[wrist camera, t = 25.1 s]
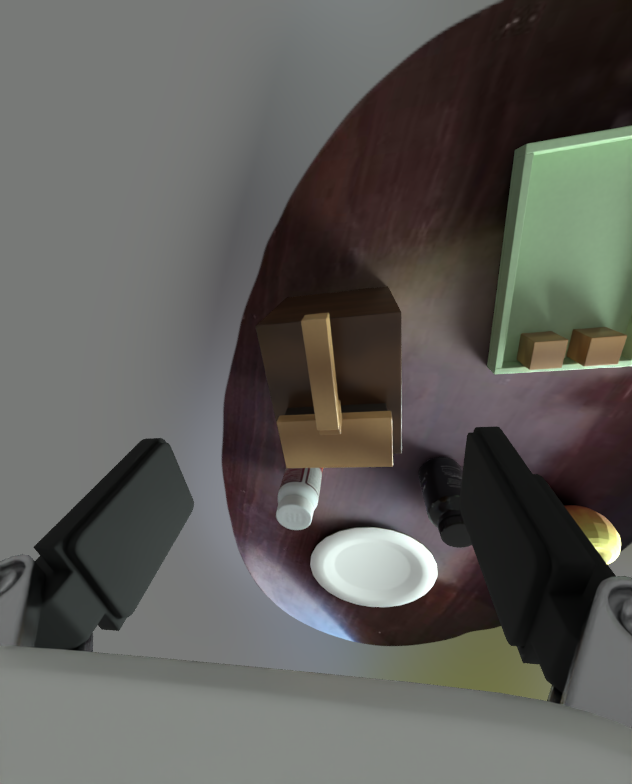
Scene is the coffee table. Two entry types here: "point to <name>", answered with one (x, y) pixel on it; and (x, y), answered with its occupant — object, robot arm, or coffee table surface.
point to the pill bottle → (298, 497)
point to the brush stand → (338, 351)
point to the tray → (566, 245)
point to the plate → (373, 566)
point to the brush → (332, 415)
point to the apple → (597, 531)
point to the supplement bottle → (444, 499)
